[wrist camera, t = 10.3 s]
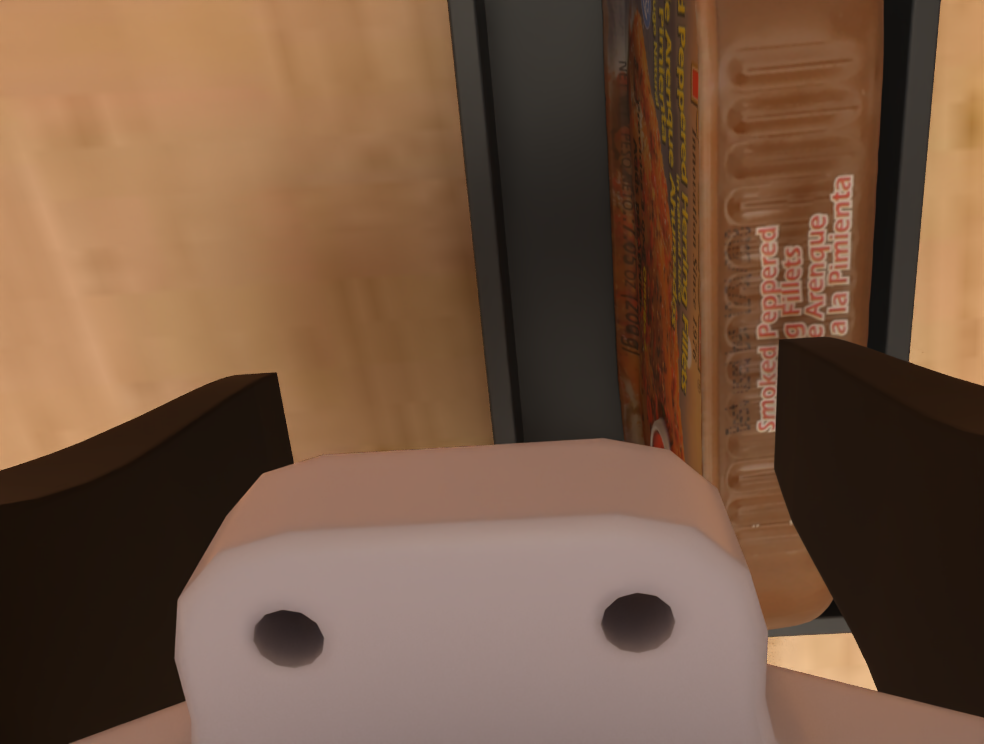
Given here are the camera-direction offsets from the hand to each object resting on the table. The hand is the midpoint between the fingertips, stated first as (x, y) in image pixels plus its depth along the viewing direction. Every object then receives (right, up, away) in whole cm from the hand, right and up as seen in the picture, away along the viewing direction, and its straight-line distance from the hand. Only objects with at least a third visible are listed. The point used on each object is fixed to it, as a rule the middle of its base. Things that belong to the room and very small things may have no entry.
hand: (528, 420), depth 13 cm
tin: (+4, +4, +8) cm, 10 cm away
